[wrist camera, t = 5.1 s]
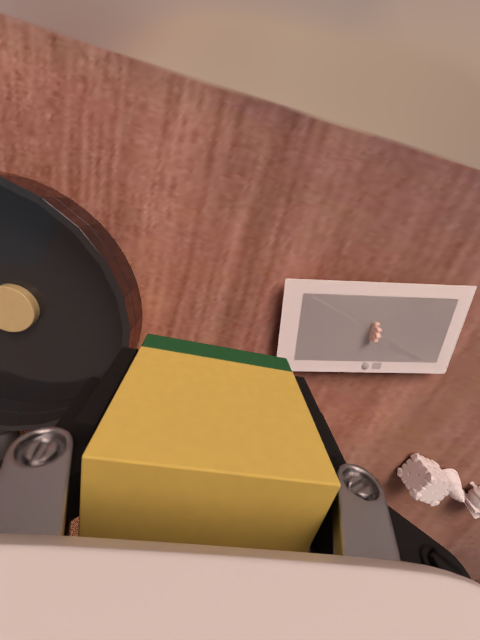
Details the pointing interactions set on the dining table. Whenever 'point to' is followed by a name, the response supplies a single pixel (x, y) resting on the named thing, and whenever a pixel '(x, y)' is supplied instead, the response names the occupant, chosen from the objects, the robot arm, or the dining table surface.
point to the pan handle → (7, 441)
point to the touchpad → (371, 325)
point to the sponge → (206, 453)
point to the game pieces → (436, 483)
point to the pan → (59, 302)
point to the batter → (17, 308)
